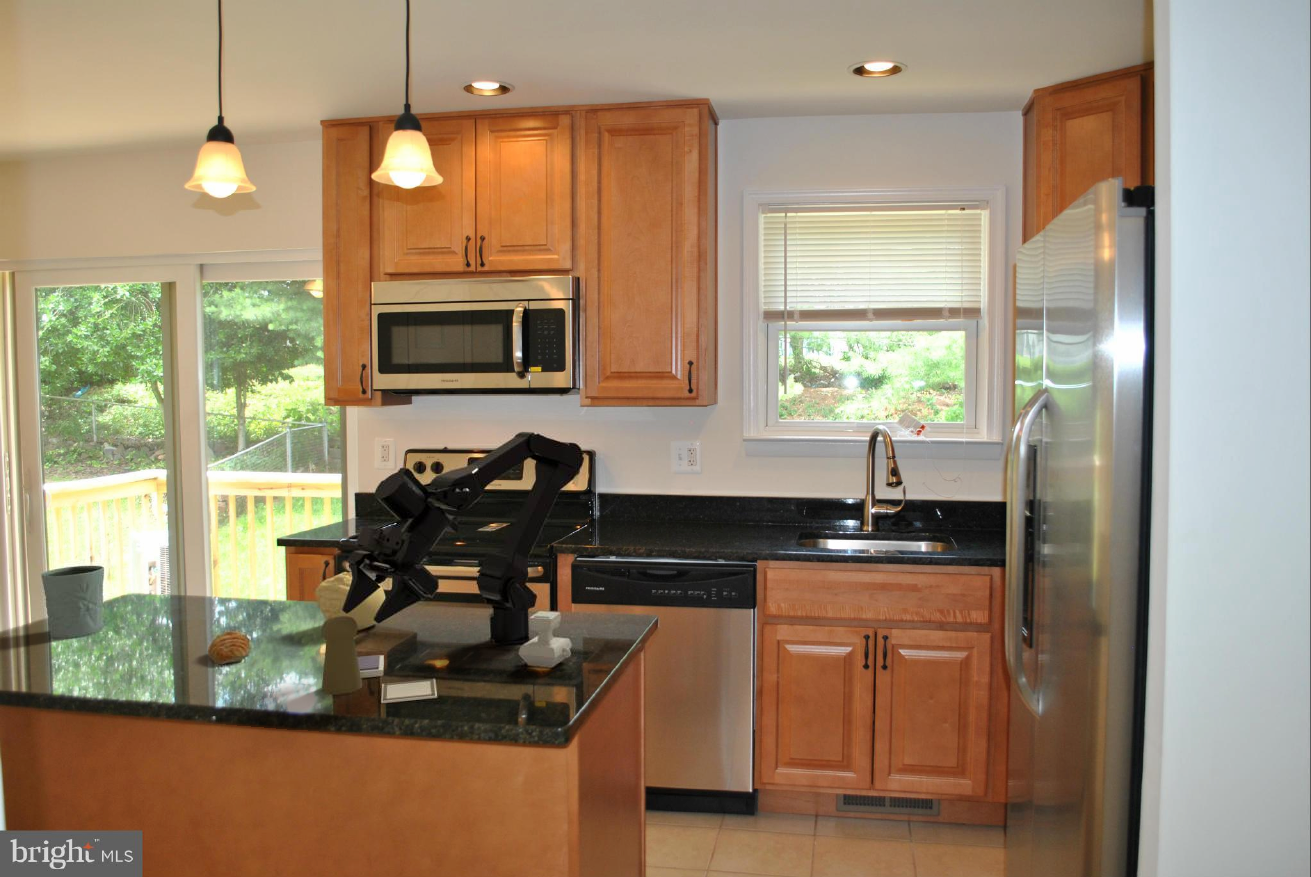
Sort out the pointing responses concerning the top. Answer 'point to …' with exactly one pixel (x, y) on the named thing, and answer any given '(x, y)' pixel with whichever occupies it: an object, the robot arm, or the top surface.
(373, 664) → the ink pad
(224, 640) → the pastry
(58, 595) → the grey cup
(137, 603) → the top surface
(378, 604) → the sculpture
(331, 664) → the brown peg figure
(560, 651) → the stamp
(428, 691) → the white flat square piece
